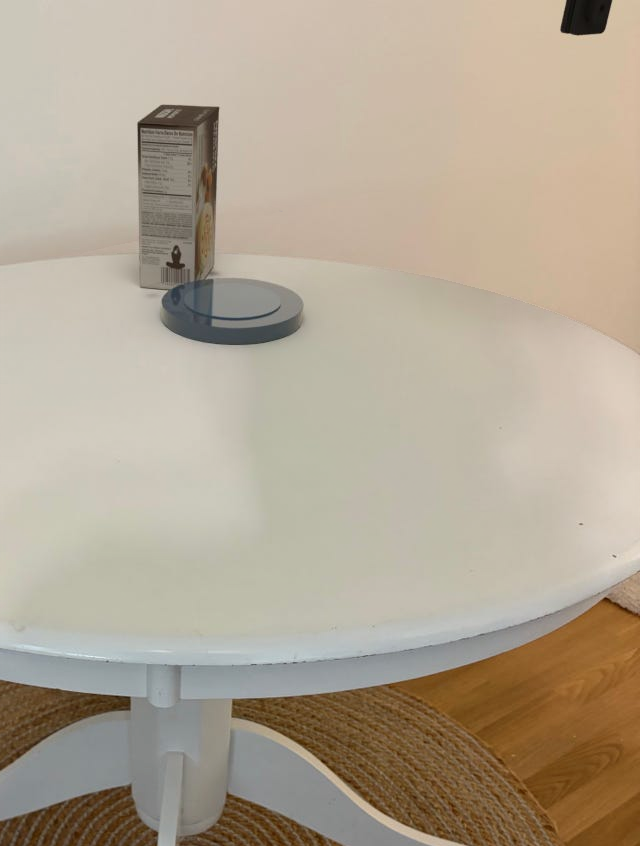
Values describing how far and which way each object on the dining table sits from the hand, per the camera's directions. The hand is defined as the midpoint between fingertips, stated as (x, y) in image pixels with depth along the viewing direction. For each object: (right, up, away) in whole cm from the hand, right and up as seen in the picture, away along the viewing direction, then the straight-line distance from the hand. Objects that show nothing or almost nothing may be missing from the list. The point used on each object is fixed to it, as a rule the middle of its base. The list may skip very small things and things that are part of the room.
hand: (581, 32), depth 78 cm
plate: (-26, -16, +20) cm, 37 cm away
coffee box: (-31, -9, +30) cm, 44 cm away
